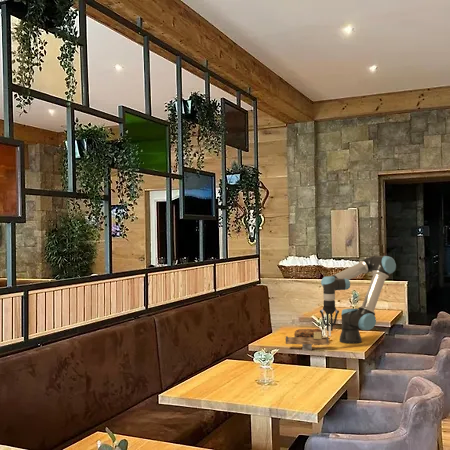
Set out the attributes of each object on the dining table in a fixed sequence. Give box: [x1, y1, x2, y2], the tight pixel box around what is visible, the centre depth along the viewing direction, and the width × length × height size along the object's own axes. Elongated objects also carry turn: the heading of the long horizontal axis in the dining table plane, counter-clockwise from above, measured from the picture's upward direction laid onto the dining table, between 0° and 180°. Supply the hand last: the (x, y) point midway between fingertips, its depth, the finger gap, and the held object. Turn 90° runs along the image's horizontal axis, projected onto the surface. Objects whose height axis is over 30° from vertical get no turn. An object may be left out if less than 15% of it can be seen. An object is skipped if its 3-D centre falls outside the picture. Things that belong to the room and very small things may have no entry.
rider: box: [314, 332, 323, 339], centre depth 365 cm, size 5×6×5 cm
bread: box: [293, 328, 323, 346], centre depth 385 cm, size 19×11×10 cm, turn 74°
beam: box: [285, 335, 330, 352], centre depth 366 cm, size 28×8×8 cm, turn 81°
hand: (329, 335), depth 363 cm, fingers closed
